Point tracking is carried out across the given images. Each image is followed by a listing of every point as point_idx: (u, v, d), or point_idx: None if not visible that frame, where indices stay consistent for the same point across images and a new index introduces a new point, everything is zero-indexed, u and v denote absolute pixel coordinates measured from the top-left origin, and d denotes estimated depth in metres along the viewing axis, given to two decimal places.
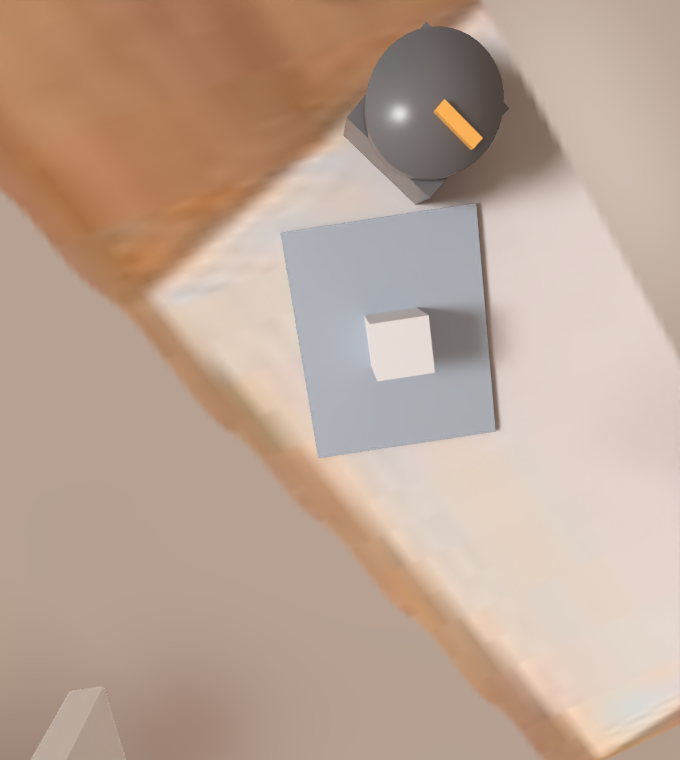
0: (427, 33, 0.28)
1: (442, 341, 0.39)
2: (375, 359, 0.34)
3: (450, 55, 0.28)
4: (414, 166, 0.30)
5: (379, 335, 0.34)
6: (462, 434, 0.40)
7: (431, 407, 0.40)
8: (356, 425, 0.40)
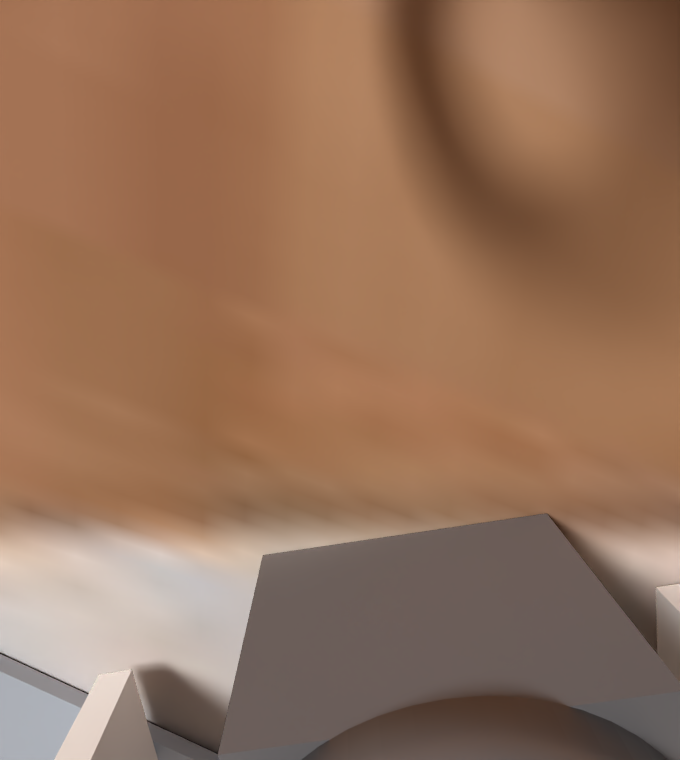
0: None
1: None
2: None
3: None
4: None
5: None
6: None
7: None
8: None
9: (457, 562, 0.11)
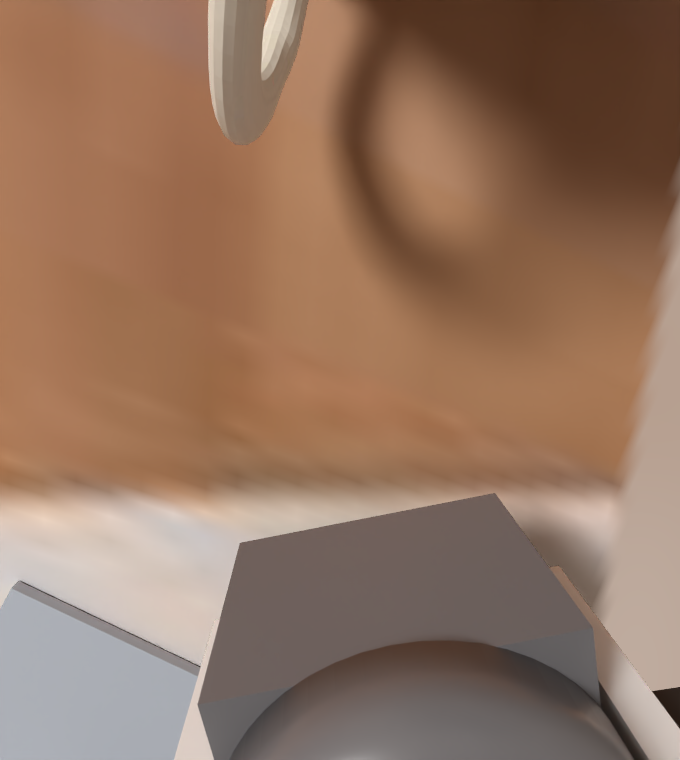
0: None
1: None
2: None
3: None
4: None
5: None
6: None
7: None
8: None
9: (412, 539, 0.12)
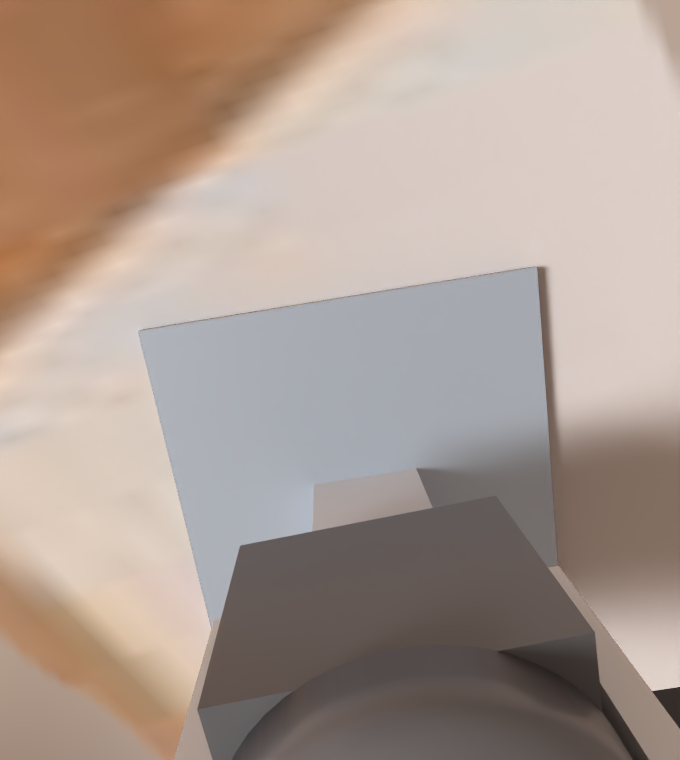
0: None
1: None
2: None
3: None
4: None
5: None
6: None
7: None
8: None
9: (413, 542, 0.12)
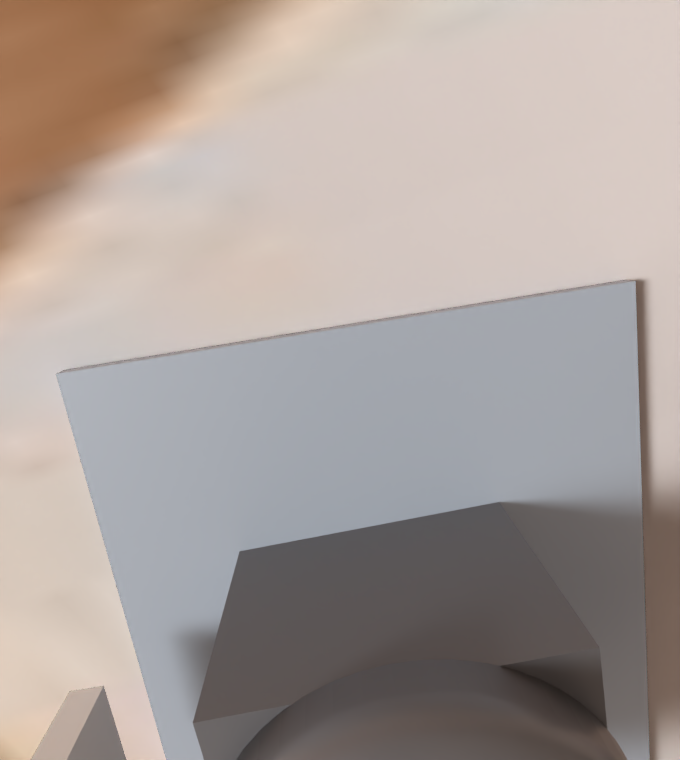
0: None
1: None
2: None
3: None
4: None
5: None
6: None
7: None
8: None
9: (415, 549, 0.12)
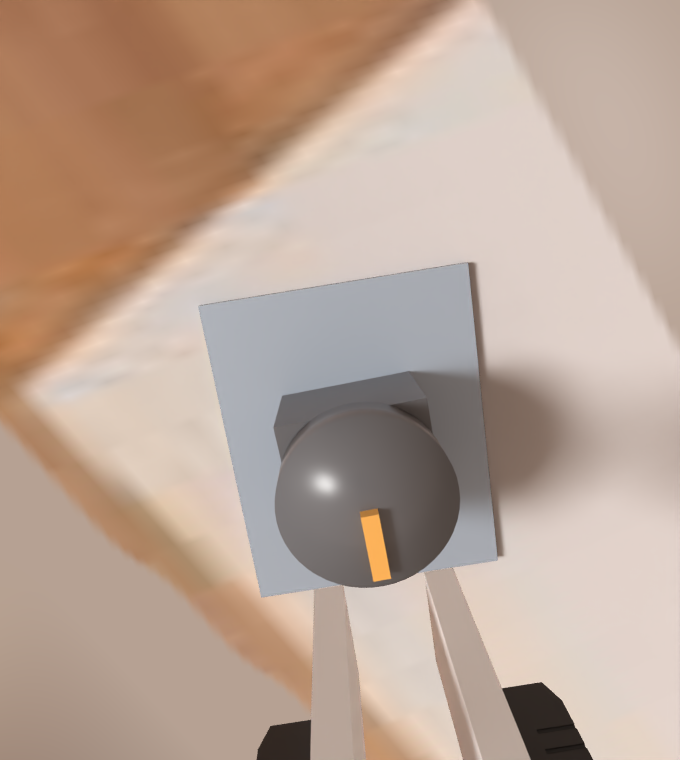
0: (410, 433, 0.21)
1: None
2: None
3: (418, 471, 0.21)
4: (300, 549, 0.22)
5: None
6: (453, 564, 0.30)
7: None
8: None
9: (365, 386, 0.26)
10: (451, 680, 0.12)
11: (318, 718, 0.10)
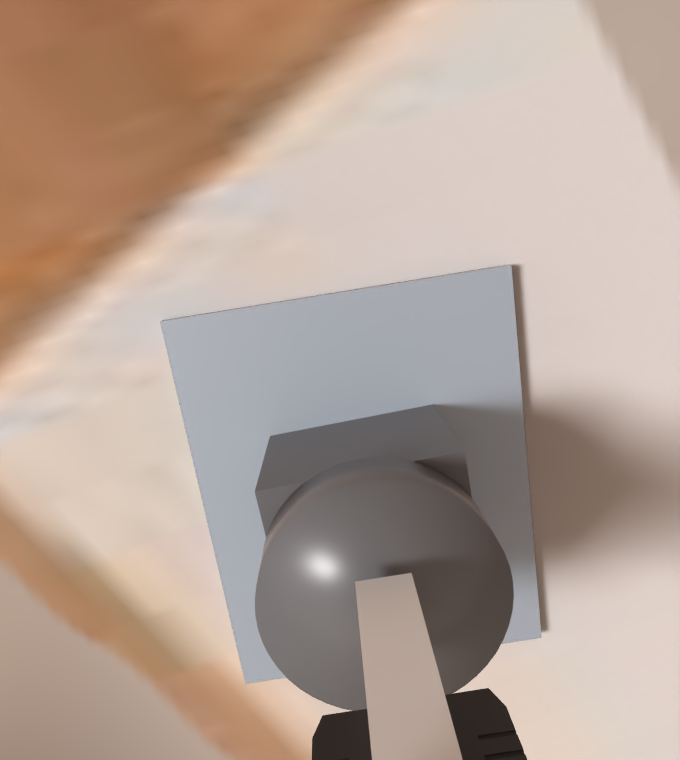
0: (446, 508, 0.15)
1: None
2: None
3: (457, 559, 0.15)
4: (290, 663, 0.16)
5: None
6: None
7: None
8: None
9: (377, 426, 0.20)
10: None
11: (374, 707, 0.10)
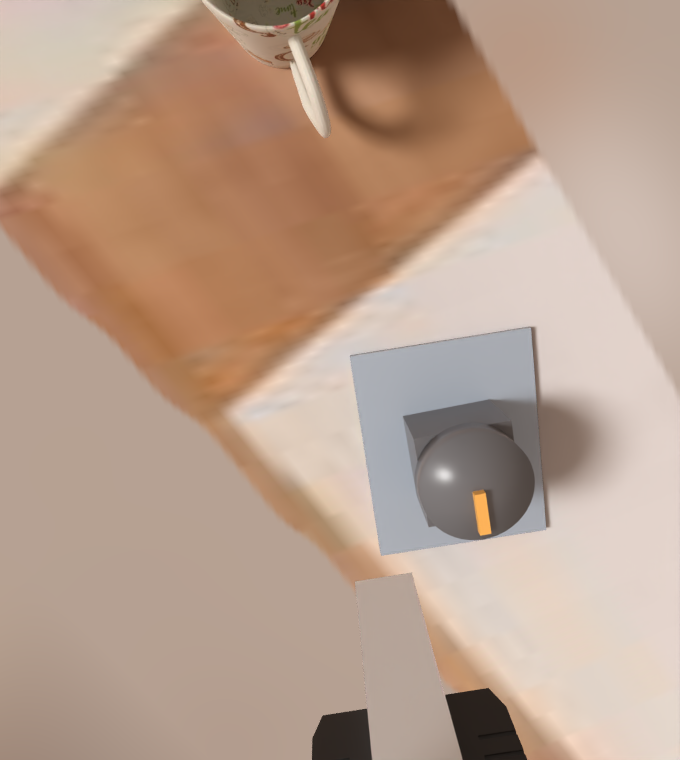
0: (505, 443, 0.34)
1: None
2: None
3: (510, 466, 0.34)
4: (433, 515, 0.35)
5: None
6: (515, 532, 0.43)
7: None
8: (417, 526, 0.43)
9: (462, 410, 0.39)
10: None
11: (374, 707, 0.10)
